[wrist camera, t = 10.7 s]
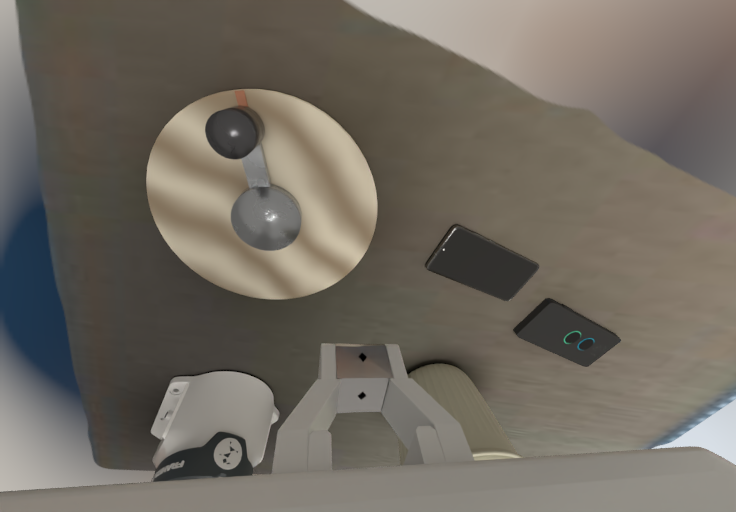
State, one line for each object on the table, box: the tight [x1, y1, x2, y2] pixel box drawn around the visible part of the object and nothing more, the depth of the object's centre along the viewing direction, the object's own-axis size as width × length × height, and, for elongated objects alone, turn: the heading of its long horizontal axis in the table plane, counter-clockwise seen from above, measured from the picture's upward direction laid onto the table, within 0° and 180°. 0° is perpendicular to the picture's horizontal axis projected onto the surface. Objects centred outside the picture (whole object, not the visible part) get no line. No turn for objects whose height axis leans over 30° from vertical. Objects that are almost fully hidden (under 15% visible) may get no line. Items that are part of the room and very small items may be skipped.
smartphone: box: [426, 225, 539, 301], centre depth 42 cm, size 7×1×16 cm
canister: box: [398, 363, 524, 466], centre depth 45 cm, size 18×18×21 cm
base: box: [146, 89, 377, 299], centre depth 33 cm, size 24×24×2 cm
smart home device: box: [513, 298, 621, 367], centre depth 51 cm, size 8×2×20 cm
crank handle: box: [205, 105, 302, 251], centre depth 28 cm, size 14×7×6 cm, turn 4°
